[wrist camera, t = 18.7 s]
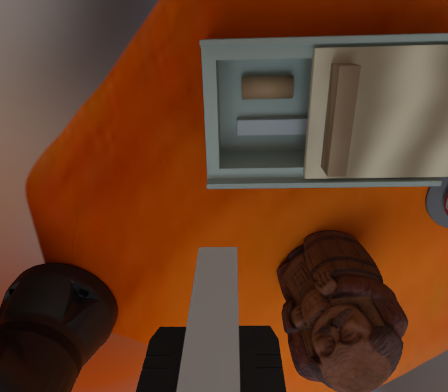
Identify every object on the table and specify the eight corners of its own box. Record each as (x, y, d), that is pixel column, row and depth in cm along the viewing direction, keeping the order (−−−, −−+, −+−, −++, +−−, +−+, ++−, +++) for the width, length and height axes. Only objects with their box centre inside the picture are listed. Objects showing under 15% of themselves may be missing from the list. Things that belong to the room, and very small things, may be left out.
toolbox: (211, 162, 40) (206, 189, 33) (206, 39, 34) (199, 40, 27) (404, 159, 39) (440, 186, 32) (430, 33, 33) (481, 32, 27)
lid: (303, 175, 33) (309, 189, 30) (313, 47, 28) (322, 49, 25) (529, 172, 33) (559, 186, 30) (580, 40, 28) (622, 41, 25)
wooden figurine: (330, 213, 42) (391, 326, 26) (364, 242, 44) (443, 364, 28) (265, 272, 46) (283, 401, 30) (299, 296, 48) (333, 431, 32)
